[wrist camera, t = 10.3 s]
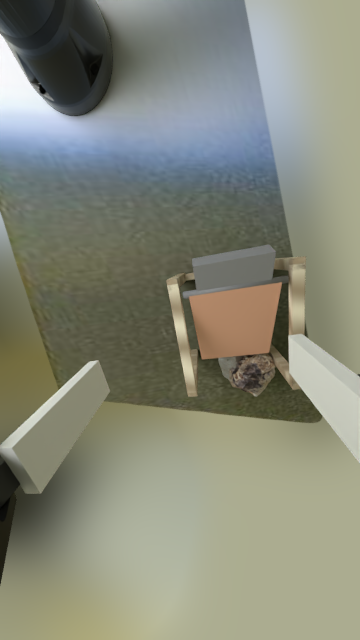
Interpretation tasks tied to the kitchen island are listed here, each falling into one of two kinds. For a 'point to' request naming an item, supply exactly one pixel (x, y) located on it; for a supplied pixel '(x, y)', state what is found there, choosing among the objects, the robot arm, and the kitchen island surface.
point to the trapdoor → (235, 302)
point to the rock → (248, 371)
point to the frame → (295, 327)
